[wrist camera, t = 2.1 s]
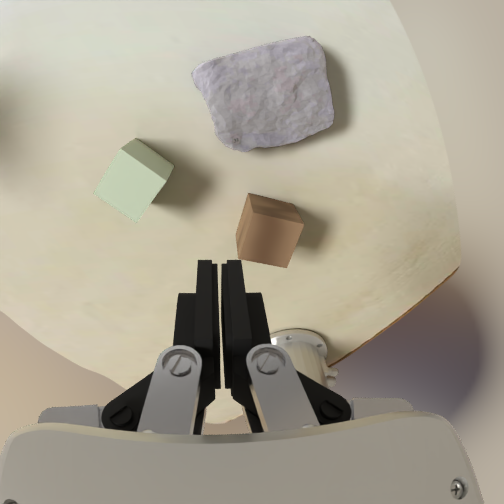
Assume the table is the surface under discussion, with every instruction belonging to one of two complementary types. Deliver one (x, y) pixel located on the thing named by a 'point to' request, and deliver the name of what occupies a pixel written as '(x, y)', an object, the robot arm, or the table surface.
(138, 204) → the sage block
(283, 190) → the table surface
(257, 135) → the stone block
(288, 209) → the walnut block
